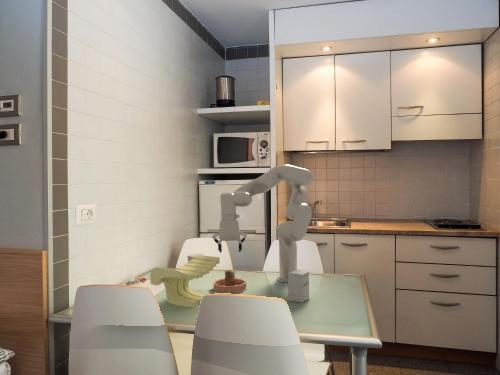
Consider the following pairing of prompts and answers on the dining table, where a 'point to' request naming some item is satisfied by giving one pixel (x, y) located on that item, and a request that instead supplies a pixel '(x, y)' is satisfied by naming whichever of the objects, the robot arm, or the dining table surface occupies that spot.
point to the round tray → (239, 286)
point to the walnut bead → (230, 278)
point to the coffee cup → (193, 256)
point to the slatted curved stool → (183, 280)
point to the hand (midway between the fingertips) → (230, 251)
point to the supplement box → (298, 286)
